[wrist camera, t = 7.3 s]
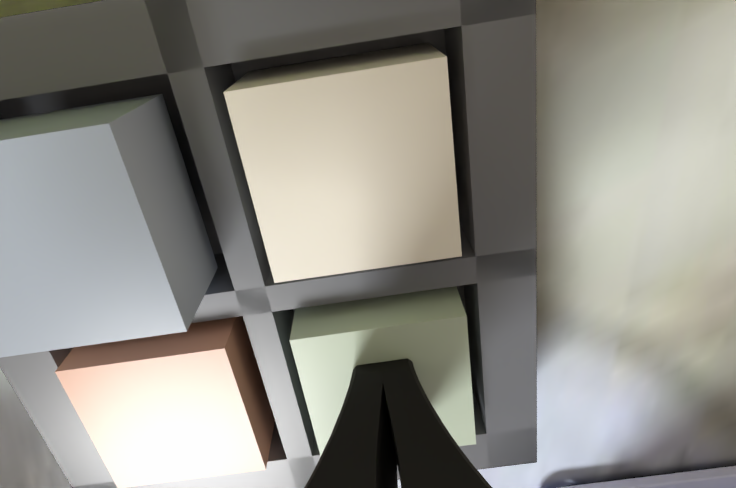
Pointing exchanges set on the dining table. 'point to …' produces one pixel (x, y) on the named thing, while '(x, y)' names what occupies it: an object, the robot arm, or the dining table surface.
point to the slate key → (97, 228)
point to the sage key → (386, 353)
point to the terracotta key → (173, 403)
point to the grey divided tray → (236, 210)
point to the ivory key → (350, 161)
